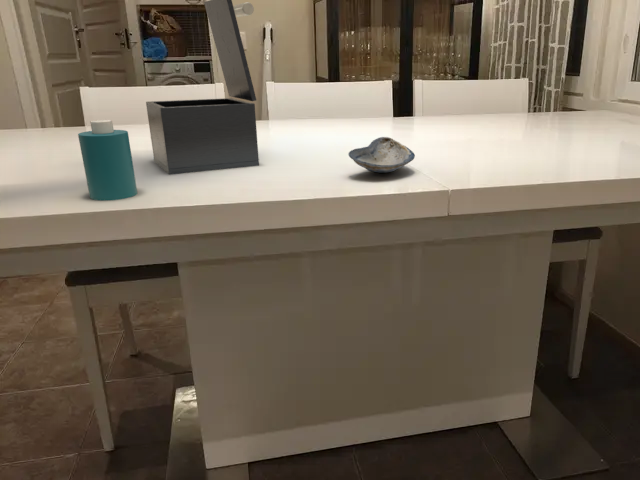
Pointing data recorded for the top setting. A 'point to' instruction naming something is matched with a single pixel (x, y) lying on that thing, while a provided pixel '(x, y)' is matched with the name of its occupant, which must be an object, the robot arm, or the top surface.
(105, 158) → the detergent bottle
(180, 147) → the black box
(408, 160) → the seashell
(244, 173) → the top surface
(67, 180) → the top surface
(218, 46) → the box lid
